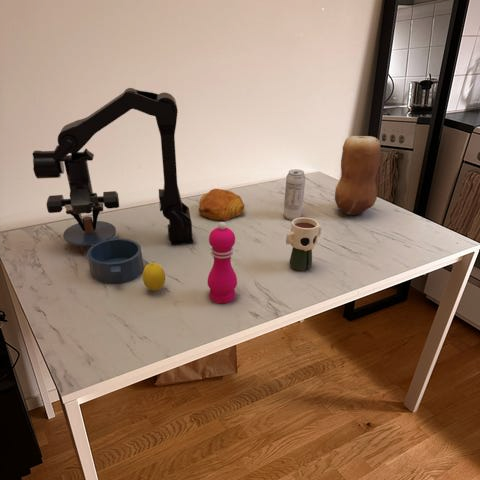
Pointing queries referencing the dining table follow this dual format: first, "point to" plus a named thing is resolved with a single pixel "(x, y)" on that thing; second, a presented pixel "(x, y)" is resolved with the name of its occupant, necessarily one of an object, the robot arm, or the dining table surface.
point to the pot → (115, 260)
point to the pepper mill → (222, 265)
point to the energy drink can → (294, 194)
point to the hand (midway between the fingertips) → (89, 230)
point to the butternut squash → (358, 174)
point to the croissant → (220, 205)
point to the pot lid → (89, 232)
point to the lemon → (153, 276)
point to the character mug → (303, 241)
